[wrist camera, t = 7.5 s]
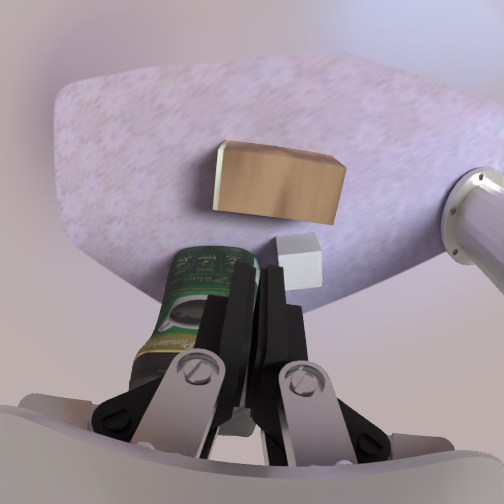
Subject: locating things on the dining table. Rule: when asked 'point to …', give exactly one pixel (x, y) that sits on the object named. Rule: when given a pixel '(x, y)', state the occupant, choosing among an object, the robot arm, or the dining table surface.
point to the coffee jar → (192, 318)
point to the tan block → (277, 182)
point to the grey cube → (300, 260)
